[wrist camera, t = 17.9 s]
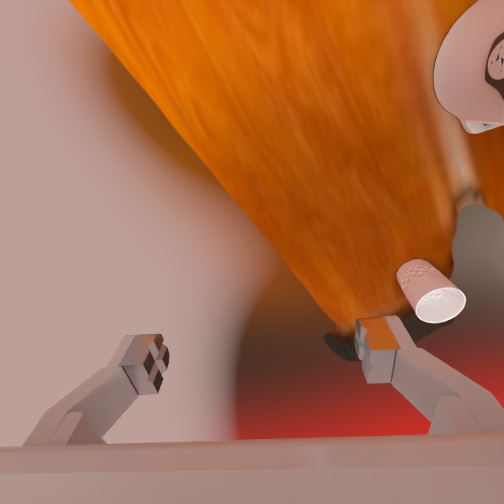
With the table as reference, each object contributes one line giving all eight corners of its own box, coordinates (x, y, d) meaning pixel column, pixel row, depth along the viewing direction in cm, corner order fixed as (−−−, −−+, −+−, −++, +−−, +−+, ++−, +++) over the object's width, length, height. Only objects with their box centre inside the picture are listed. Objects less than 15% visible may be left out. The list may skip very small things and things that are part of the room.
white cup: (385, 272, 56) (407, 305, 47) (421, 248, 53) (452, 279, 44) (405, 294, 59) (430, 329, 50) (441, 273, 55) (474, 307, 47)
